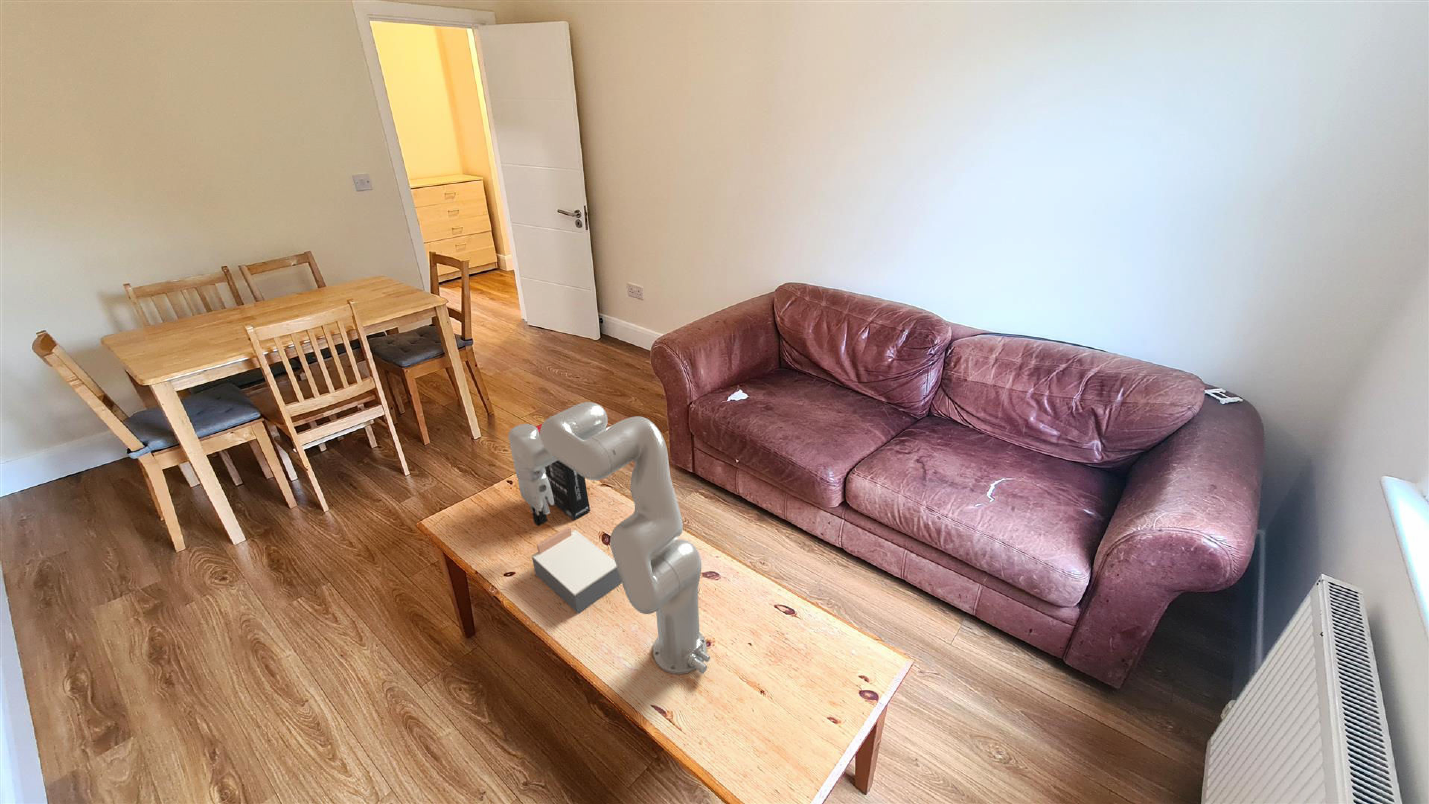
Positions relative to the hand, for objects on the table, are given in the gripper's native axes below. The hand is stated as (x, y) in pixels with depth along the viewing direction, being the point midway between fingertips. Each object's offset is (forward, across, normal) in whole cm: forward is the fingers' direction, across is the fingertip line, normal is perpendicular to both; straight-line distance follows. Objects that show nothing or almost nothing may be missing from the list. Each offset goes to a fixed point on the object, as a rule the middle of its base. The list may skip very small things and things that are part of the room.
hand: (541, 522), depth 160 cm
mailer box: (+11, -16, 0) cm, 19 cm away
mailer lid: (+4, -15, 0) cm, 16 cm away
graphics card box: (+11, +13, -16) cm, 24 cm away
